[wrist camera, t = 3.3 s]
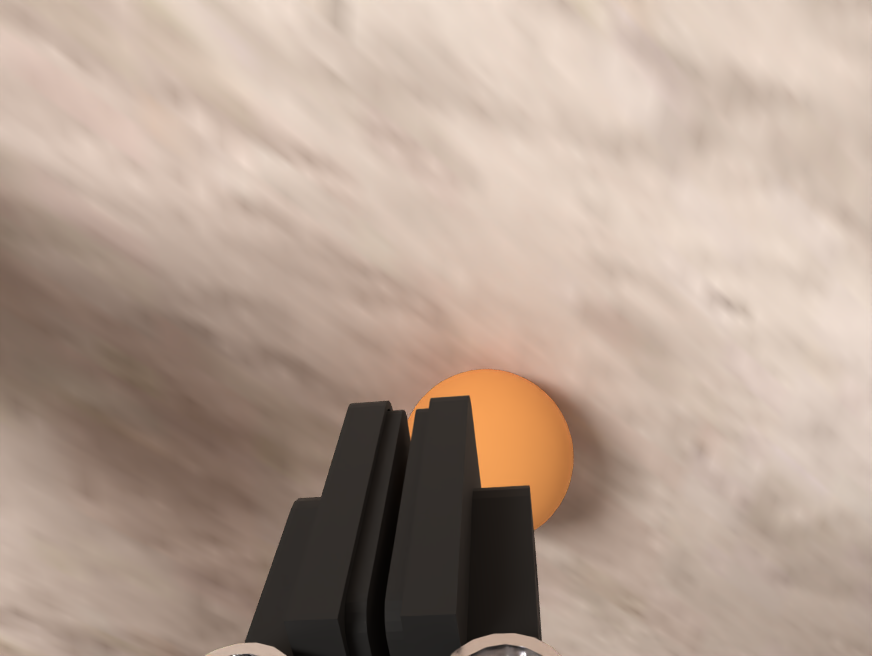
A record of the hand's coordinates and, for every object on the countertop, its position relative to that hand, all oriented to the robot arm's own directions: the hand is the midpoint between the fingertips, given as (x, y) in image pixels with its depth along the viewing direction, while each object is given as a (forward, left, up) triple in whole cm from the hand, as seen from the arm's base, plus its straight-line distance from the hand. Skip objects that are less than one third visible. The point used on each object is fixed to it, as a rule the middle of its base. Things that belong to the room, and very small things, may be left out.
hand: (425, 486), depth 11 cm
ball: (+9, 0, -14) cm, 17 cm away
